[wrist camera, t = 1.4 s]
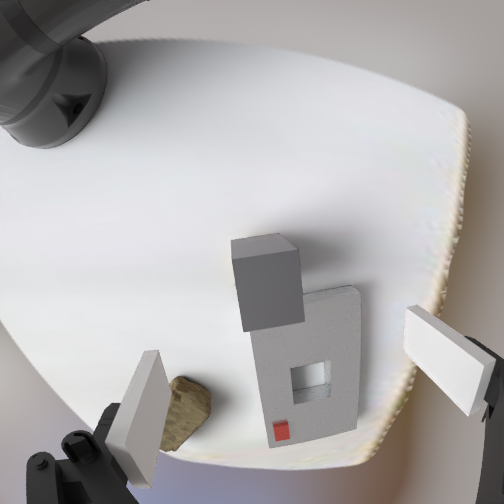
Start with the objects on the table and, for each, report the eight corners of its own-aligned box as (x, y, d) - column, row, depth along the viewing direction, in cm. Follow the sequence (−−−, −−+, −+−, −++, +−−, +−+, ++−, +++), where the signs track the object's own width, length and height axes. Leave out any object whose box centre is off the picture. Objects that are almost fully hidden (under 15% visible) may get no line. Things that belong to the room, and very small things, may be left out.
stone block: (142, 418, 38) (135, 441, 34) (177, 369, 37) (171, 391, 32) (176, 435, 40) (172, 458, 35) (215, 389, 38) (214, 412, 33)
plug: (230, 236, 34) (231, 259, 23) (275, 229, 34) (298, 249, 23) (238, 288, 35) (243, 332, 24) (281, 281, 36) (305, 321, 24)
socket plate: (245, 303, 36) (247, 315, 32) (351, 285, 36) (362, 294, 33) (267, 434, 40) (269, 451, 37) (350, 416, 41) (357, 431, 37)
